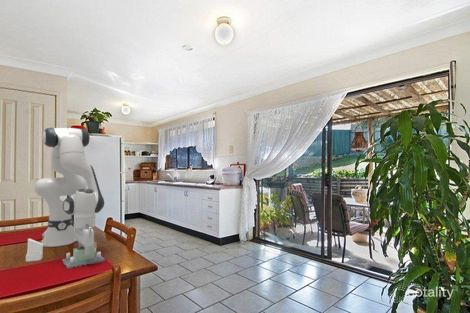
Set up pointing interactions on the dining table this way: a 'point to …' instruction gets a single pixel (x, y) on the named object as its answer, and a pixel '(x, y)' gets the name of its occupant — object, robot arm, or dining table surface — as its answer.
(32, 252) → the white wedge bracket
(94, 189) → the robot arm
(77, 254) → the pale green notched block
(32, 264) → the dining table surface
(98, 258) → the mounting plate
